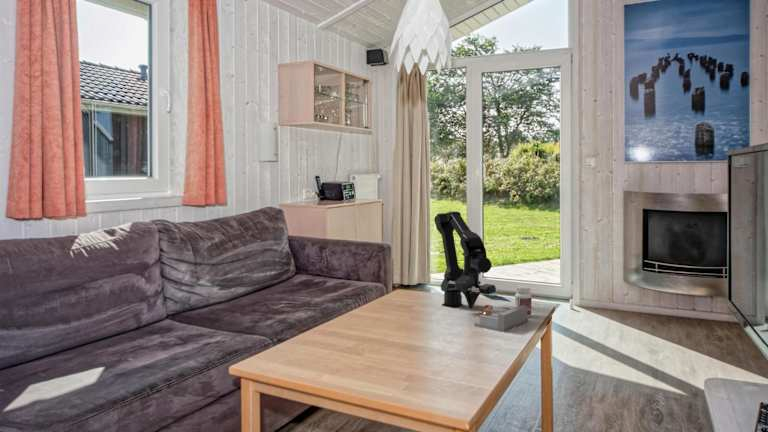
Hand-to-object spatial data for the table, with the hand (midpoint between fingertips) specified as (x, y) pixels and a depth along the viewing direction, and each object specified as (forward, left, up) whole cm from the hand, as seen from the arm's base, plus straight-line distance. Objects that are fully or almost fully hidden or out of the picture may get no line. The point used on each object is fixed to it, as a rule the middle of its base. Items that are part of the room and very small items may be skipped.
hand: (470, 308), depth 218 cm
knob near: (+15, -8, -1) cm, 17 cm away
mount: (+15, -4, -3) cm, 16 cm away
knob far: (+11, 0, -1) cm, 11 cm away
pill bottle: (+16, +12, -3) cm, 20 cm away
